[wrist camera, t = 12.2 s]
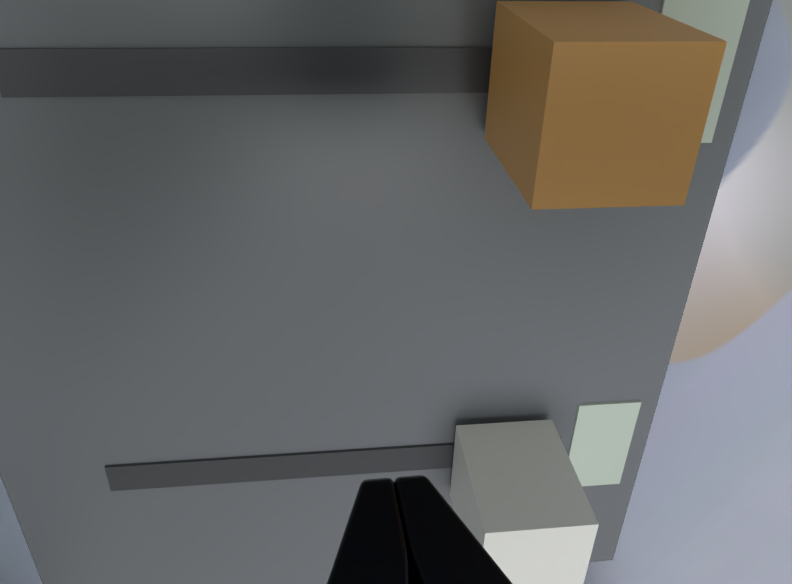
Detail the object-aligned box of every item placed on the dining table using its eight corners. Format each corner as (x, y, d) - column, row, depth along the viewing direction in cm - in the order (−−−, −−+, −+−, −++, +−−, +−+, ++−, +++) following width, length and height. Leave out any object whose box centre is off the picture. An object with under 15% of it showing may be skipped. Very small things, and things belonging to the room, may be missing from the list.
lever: (450, 494, 23) (475, 605, 19) (456, 425, 21) (485, 533, 18) (539, 487, 23) (580, 596, 19) (552, 419, 21) (598, 524, 18)
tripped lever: (484, 137, 16) (531, 209, 13) (496, 0, 15) (553, 41, 11) (606, 135, 17) (684, 204, 13) (631, 1, 15) (727, 41, 12)
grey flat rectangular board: (76, 535, 26) (51, 610, 24) (-192, -274, 14) (-310, -307, 11) (585, 497, 28) (613, 562, 26) (757, -233, 16) (848, -254, 13)
